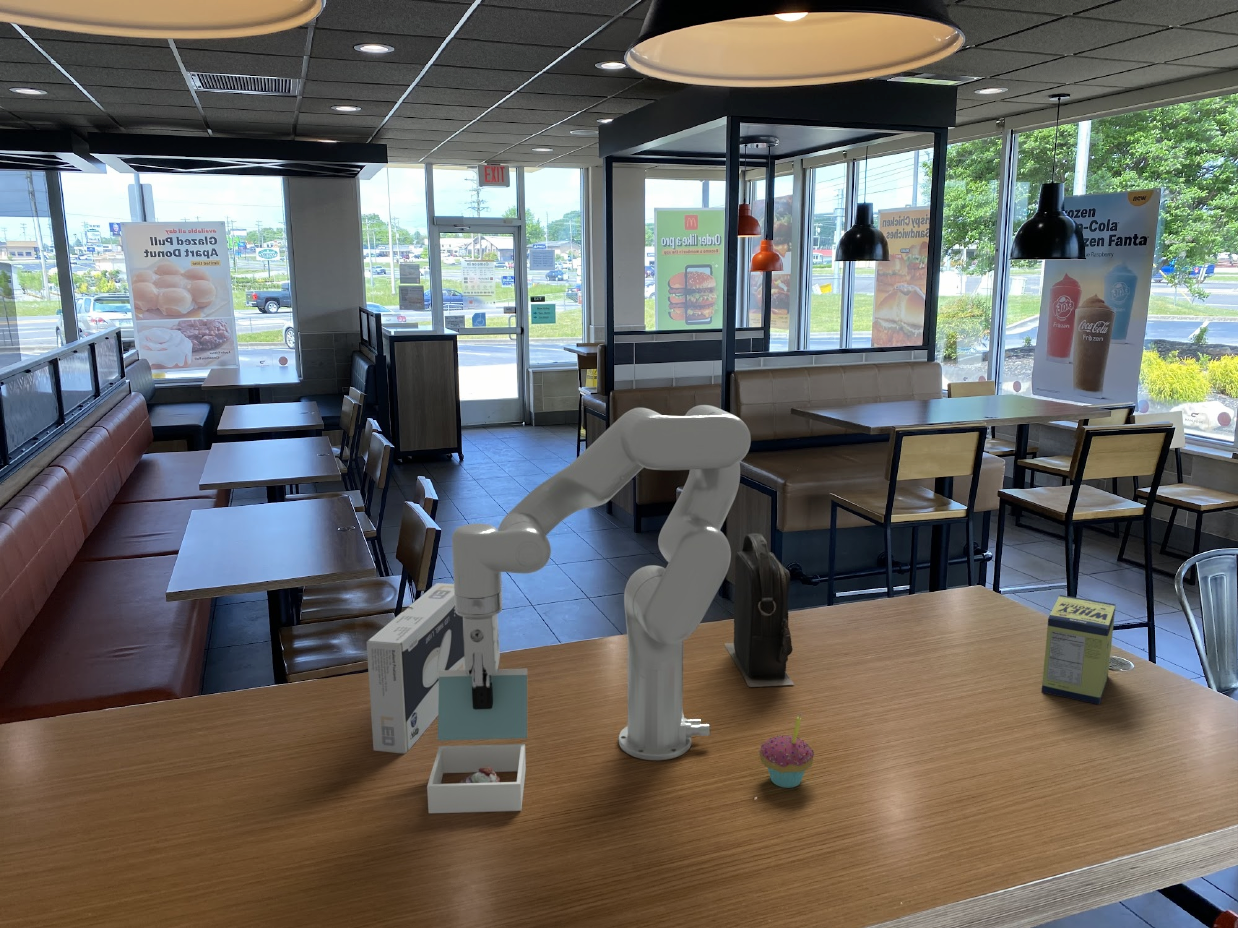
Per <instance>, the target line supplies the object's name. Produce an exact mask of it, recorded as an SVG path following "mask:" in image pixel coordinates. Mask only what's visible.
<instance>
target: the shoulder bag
mask: <svg viewBox="0 0 1238 928" xmlns="http://www.w3.org/2000/svg"><path fill="white" fill-rule="evenodd" d="M734 557H735V558H734V559H735V560H734V593H733V594H734V595H733V597H734V598H733V642H726V643H723V645H724V646H725V648H726V650H727V652H728V654H729V655H730V656H731V658H732V660H733V662H734V664H735V665H736V667H737V668H738V670H739V672H740V673H741V675H742V676H743V679H744V680H745V683H746V684H747V686H748V687H749V688H757V687H758V688H762V687H777V686H779V687H780V686H795V683H794V682H793V681H792V679H791V678H790V676H789V675H788V674H787V672H786V671H787V662H788V661H789V656H790V655H791V654H792V652H793V645H792V637H791V636H792V635H791V630H790V628H789V627H790V626H789V592H790V586H791V575H790V571H789V570H788V569H787V568H786V567H785V566H784V565H783V564H782V563H781V561H780V560H779V559H778V558H777V557H776V555H775V554H774V553H773V552H771V551H770V550H769V546H768V542H767V540H766V537H765V536H764V535H763V533H758V532H757V533H756V532H755V533H749V534H746V535H744V537H743V543H742V549H741V551H737V552H736V554H735V556H734Z"/></svg>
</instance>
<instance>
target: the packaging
mask: <svg viewBox="0 0 1238 928" xmlns="http://www.w3.org/2000/svg"><path fill="white" fill-rule="evenodd" d="M366 654H367V655H366V656H367V668H368V670H367V671H368V681H369V684H368V685H369V699H370V719H371V732H372V733H371V734H372V744H373V745H372V747H373V751H374V752H375V751H377V752H387V753H396V754H404V755H405V754H407V752H409V751H410V750H411V748H412V747H413V746H414V745H415V743H416V742H418V740H419V739H420V738H421V737H422V735H423V734H424V733H425V732H426V730H427V729H428V728H429V727H430V726H431V724H433V722H434V721H435V720H436V718H438V699H439V671H442V670H466V669H465V657H464V638H463V617H462V616H459V615H457V614H456V612H455V594H454V583H442V582H436V583H435V584H434V585H433V586H431V587H430V588H429V589H428V590H427V591H426V592H424V593H423V594H422V595H421V596H420V597H419V598H418V599H416V600H415V601H414V602H412V603H411V604H410V605H409V606H408V607H407V608H406V609H405V610H404V611H402V612H400V613H399V614H398V615H397V616H395V618H393V619H392V620H391V621H390V622H388V623H387V624H386V625H385V626H384V627H383V628H381V629H380V630H379V631H378V632H377V633H375V634H374V635H372V637H370V638H369V639H368V640H367V641H366Z"/></svg>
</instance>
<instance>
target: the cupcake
mask: <svg viewBox="0 0 1238 928" xmlns="http://www.w3.org/2000/svg"><path fill="white" fill-rule="evenodd" d="M801 716H802V713H800V714H799V716H797V717H796V720H795V724H794V730H793V735H789V734H787V735H777V736H773V737H770V738H768V739H766V740H764V742H763V743H762V744H761V745H760V748H759V751H758V752H759V753H758V754H759V757H760V762H761V764H763V765H764V766H765V767H766V768H767V770H768V774H769V777H770V780H771V782H772V783H773V784H774V785H776V786H778V787H781V788H785V789H787V788H795V787H797V786H799V785H800V784H801V783H802V779H803V776H804V774H805V772H806V771H808V770H809V768H811V767H812V766H813V762H814V756H815V755H814V754H815V751H814V750H813V749H812V747H810V746H809V744H808V743H807V742H805V741H804V740H803V739H801V738H800V737H798V735H799V734H798V733H799V730H800V724H801V720H802V718H801Z"/></svg>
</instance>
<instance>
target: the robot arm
mask: <svg viewBox="0 0 1238 928" xmlns="http://www.w3.org/2000/svg"><path fill="white" fill-rule="evenodd" d="M751 439H752V438H751V431H750V430H749V428H748V426H747V424H746V422H744V421H743V420H742V419H741V418H740V417H738V416H736V415H735V414H732V413H730V412H728V411H725V410H723V409H721V408H719V407H717V406H714V405H710V404H709V405H708V404H699V405H696V406H693V407H692V408H690V409H689V410H688V411H687V412H686V413H685V415H662V414H661V413H659V412H657V411H655V410H652V409H650V408H646V407H634V408H632V409H630V410H628V411H626V412H625V413H623V414H622V415H621V416H620V417H619V418H618V419H617V420H616V421H615V422H613V424H611V425H610V426H609V427H608V428H607V429H606V430H605V431H604V432H603V433H602V434H601V435H599V437H598V438H596V440H595V441H594V442H593V443H592V444H590V445H589V446H588V447H587V448H586V449H585V450H584V451H582V453H581V454H580V455H579V456H577V457H576V458H575V459H574V460H573V461H572V463H570V464H569V465H568V466H565V468H563V469H561V470H559V471H558V472H556V473H555V474H554V475H552V476H551V477H549V478H548V479H546V480H545V481H543V482H542V483H541V484H539V485H538V486H536V487H535V488H533V489H532V490H531V491H530V492H529V493H528V494H527V495H526V496H524V498H523V499H522V500H520V502H518V503H517V504H516V505H515V506H514V507H513V508H512V509H511V510H510V511H509V512H508V513H507V514H506V515H505V517H504V518H503V519H502V521H501V522H500V524H499V526H498V528H497V527H496V526H494V525H491V524H489V523H488V524H487V523H469V524H464V525H461V526H459V527H456V528H455V530H454V531H453V533H452V536H451V551H452V568H453V570H452V571H453V584H454V594H455V612H456V614H457V615H459V616H462V617H463V638H464V657H465V669H466V674H467V675H468V676H469V677H470V675H471V674H472V685H473V686H472V702H473V709H475V710H477V709H492V706H493V686H492V682H490V681H491V675H492V676H494V675H496V673H497V670H498V669H499V663H500V657H501V656H500V655H501V652H500V651H501V650H500V649H501V648H500V636H499V619H498V614H499V613H501V612H502V610H503V589H502V573H511V574H522V575H523V574H532V573H537V572H538V571H540V570H543V568H544V567H546V565H547V564H548V562H549V561H550V558H551V553H552V548H551V547H552V546H551V543H550V541H549V539H548V537H547V536H548V535H549V534H550V533H551V532H552V530H553V529H555V528H556V527H557V526H558V525H559V524H560V523H562V522H563V521H564V520H565V519H567V518H568V517H570V516H571V515H572V514H575V513H577V512H579V511H582V510H586V509H591V508H597V507H599V506H603V505H605V504H606V503H608V502H609V501H610V500H611V499H612V498H613V497H615V495H616V494H617V493H618V492H619V491H620V490H622V489H623V488H624V486H625V487H626V485H627V484H628V483H629V482H630V481H631V480H632V479H633V478H634V477H635V476H636V475H637V474H638V473H639V472H640V471H641V470H643V469H644V468H645V469H648V470H654V471H655V470H656V471H688V470H689V474H688V476H687V479H686V482H685V484H684V486H683V488H682V491H681V493H680V494H679V496H678V498H677V500H676V502H675V504H674V506H673V508H671V509H672V510H671V511H670V513H669V515H668V516H667V519H666V520H665V522H664V524H663V525H662V528H661V530H660V532H659V535H658V540H657V541H658V542H657V545H658V550H659V551H660V553H661V555H662V556H663V558H664V559H665V560H666V562H668V563H667V566H666V567H664V566H660V565H654V564H653V565H646V566H642V567H640V568H638V569H637V570H635V571H634V572H633V573H632V574H631V575H630V577H629V579H628V580H627V582H626V585H625V589H624V593H623V594H624V595H623V596H624V597H623V604H624V614H625V625H626V637H627V638H626V640H627V642H626V643H627V658H626V659H627V725H626V726H625V727H624V728H623V729H621V730H620V732H619V733H618V734H619V735H618V744H619V747H620V748H621V750H622V751H624V752H625V753H626V754H628V755H630V756H631V757H634V758H637V759H641V760H647V761H666V760H671V759H674V758H677V757H680V756H681V755H684V754H685V753H687V752H688V751H689V749H690V748H691V745H692V736H703V737H705V736H710V734H711V731H710V730H711V729H710V724H709V723H702V721H701V719H700V718H693V719H692V718H691V719H688V718H686V717H685V715H684V711H683V699H684V698H683V693H684V692H683V687H684V686H683V685H684V682H683V681H684V673H683V672H684V641H686V640H687V639H688V638H689V637H691V636H692V634H693V633H694V632H695V631H696V630H697V628H698V627H699V625H700V624H701V623H702V620H703V618H704V617H705V616H706V614H707V612H708V609H709V608H710V606H711V605H712V602H713V600H714V598H715V597H716V594H718V591H719V590H720V587H721V586H722V584H723V582H724V580H725V578H726V576H727V574H728V571H729V568H730V564H731V559H732V558H731V557H732V551H731V546H730V542H729V540H728V538H727V536H726V535H725V534H724V532H722V531H721V529H722V527H723V525H724V522H725V521H726V518H727V516H728V513H729V512H730V510H731V508H732V506H733V503H734V501H735V499H736V496H737V493H738V490H739V486H740V480H741V465H740V463H741V461H742V460H743V459H745V457H746V455H747V454H748V453H749V450H750V447H751V442H752V440H751Z"/></svg>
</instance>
